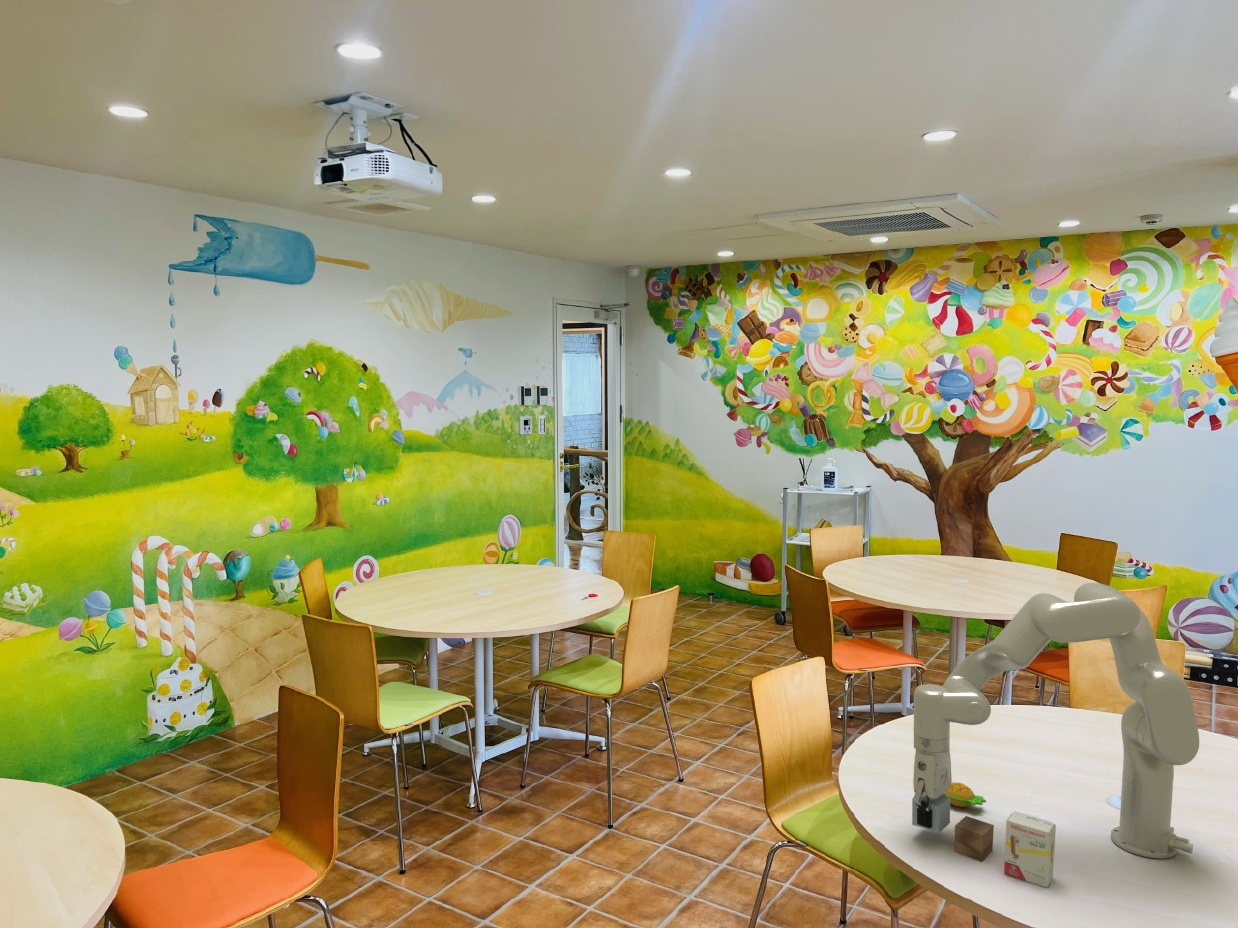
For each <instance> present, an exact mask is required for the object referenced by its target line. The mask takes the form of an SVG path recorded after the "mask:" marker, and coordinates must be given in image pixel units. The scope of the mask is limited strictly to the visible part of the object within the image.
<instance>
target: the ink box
mask: <svg viewBox="0 0 1238 928" xmlns="http://www.w3.org/2000/svg"><path fill="white" fill-rule="evenodd" d="M1005 825H1006V828H1005V844H1004V845H1005V848H1004V870H1003V874H1004V875H1006V876H1009V877H1013V878H1016V879H1018V880H1022V881H1024V882H1029V883H1031V884H1034V885H1037V886H1041V887H1044V888H1048V887H1049V886H1050V884H1051V882H1052V880H1053V878H1054V877H1053V876H1054V875H1053V874H1054V863H1055V861H1054V860H1055V848H1056V847H1055V846H1056V829H1057V826H1056V824H1055V822H1053V821H1050V820H1046V819H1042V818H1039V817H1036V816H1034V815H1033V816H1032V815H1029V814H1027V813H1022V812H1019V811H1012V813H1010V815H1009V816H1008V817H1007V819H1006V823H1005Z"/></svg>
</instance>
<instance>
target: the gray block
mask: <svg viewBox="0 0 1238 928" xmlns="http://www.w3.org/2000/svg"><path fill="white" fill-rule="evenodd" d="M923 794H925V795H927V793H926V792H924V793H923ZM913 798H914V797H912V799H911V801H912V803H911V804H912V806H911V808H912V809H911V810H912V811H911V813H912V814H911V816H912V817H911V821H912V822H911V823H912V826H916V827H918V828H921V829H924V830H928V831H931V832H934V833H936V834H940V833H941V832H942V831H943V830H944V829H945V828H946V827H948V825H950V824H951V803H950V797H948V796H945V795H941V796H940V797H938V798H937V799H935V800H933V799H932V802H931V808H930V810H932V827H931V828H927V827H924V826H921V825H918V824H917V808H916V803H915V801H914V800H913ZM922 799H923V801H925V802H926V804H927V798H924V797H922Z"/></svg>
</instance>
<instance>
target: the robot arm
mask: <svg viewBox="0 0 1238 928" xmlns="http://www.w3.org/2000/svg"><path fill="white" fill-rule="evenodd" d="M1103 639H1109V642H1110V645H1111V648H1112V653H1113V658H1114V662H1115V663H1114V664H1115V668H1116V673H1117V678H1118V679H1117V680H1118V683H1119V686H1120V689H1121V690H1122V691H1123V693H1124V694H1125V695H1127V696H1128V697H1129V698H1131V699H1132V700H1133V701H1134V702H1133V703H1131V704H1129V705H1127V707H1126V708H1125V710H1124V711H1123V713H1122V716H1121V720H1120V722H1121V723H1120V726H1121V727H1120V729H1121V738H1122V746H1123V747H1122V748H1123V749H1122V750H1123V761H1122V763H1123V764H1122V775H1121V776H1122V778H1121V792H1120V793H1121V794H1120V812H1119V825H1118V826H1116V827H1114V828H1112V830H1111V833H1110V837H1111V840H1112V842H1113V843H1114V844H1115V845H1116V846H1118V848H1121V849H1123V850H1125V851H1126V852H1128V853H1132V854H1134V855H1137V856H1140V857H1144V858H1150V859H1159V860H1160V859H1161V860H1162V859H1170V858H1173V857H1175V856H1176V855H1177V854H1178V850H1180V851H1182V852H1185V853H1188V854H1193V849H1194V844H1192V843H1190V840H1189V838H1184V837H1180V836H1177V834H1175V827H1172V826H1171V821H1172V808H1173V807H1172V804H1173V791H1174V790H1173V789H1174V788H1173V787H1174V776H1175V771H1174V770H1175V767H1174V766H1183V765H1187V764H1189V763H1190V762H1192V761H1193V760H1194V759H1195V757H1196V756H1197V754H1198V752H1199V748H1200V732H1199V729H1198V722H1197V717H1196V711H1195V708H1194V703H1193V698H1192V694H1191V691H1190V689H1189V686H1188V683H1186V681H1185V680H1184V679H1183V677H1182V676H1181V675H1179V674H1178V673H1177V672H1175V671H1174V670H1173V669H1170V668H1169V667H1168V666H1166V665H1164V664H1163V662H1162V660H1161V657H1160V656H1161V655H1160V653H1159V648H1158V645H1157V641H1156V637H1155V634H1154V631H1153V627H1152V625H1151V624H1150V621H1149V619H1148V617H1147V616H1146V614H1144V611H1143V610H1142V609H1141V608H1140V607H1139V606H1138V604H1136V602H1135V601H1134V600H1133V599H1132V598H1130V597H1129V596H1128V595H1126V594H1125V593H1123V592H1122V591H1120V590H1118V588H1117V589H1116V588H1115V587H1113V586H1110V585H1107V584H1103V583H1100V582H1099V583H1098V582H1087V583H1083V584H1082V585H1080V586H1079V587H1078V588H1077V589H1076V590H1075V592H1074V596H1073V601H1066V600H1064V599H1062V598H1060V597H1058V596H1056V595H1054V594H1050V593H1047V592H1046V593H1045V592H1042V593H1037V594H1035V595H1033V596H1031V598H1030V599H1028V600H1027V602H1026V603H1024V605H1023V606H1022V607H1021V608H1020V609H1019V610H1018V612H1017V613H1016V614H1014V616H1013V617H1012V618H1011V620H1010V621H1009V622H1008V623H1007V625H1006V626H1005V627H1004V628H1003V629H1002V630H1001V631H1000V632H999V634H998V635H997V636H995V638H994V639H993V640H992V641H991V642H989V643H987V644H985V645H983V646H981V647H980V648H978V649H976V650H975V651H974V652H973V651H972V652H971V653H970V654H968V656H965V658H964V659H962V660H961V662H960V663H958V665H957V666H956V667H955V668H954V669H953V671H951V673H949V675H948V676H947V678H946V679H945V680H944V682H943V685H942V686H941V685H939V684H934V683H933V684H932V683H925V684H920V685H918V686H917V687H915V689H914V691H913V748H914V750H915V753H914V762H913V776H912V778H913V793H914V795H913V797H912V798H913V800H914V801H915V803H916V808H917V824H918V825H921V826H924V827H927V828H931V827H932V810H930V808H931V802H932V799H933V800H935V799H937V798H938V797H940V796H941V795H945V796H946V793H945V792H946V791H947V790H948V789H949V788H950V787H951V784H952V783H953V781H952V780H953V779H952V761H951V760H952V759H951V758H952V757H951V752H950V751H951V749H950V744H951V743H950V739H951V737H950V736H951V734H950V732H951V731H950V727H951V723H953V724H954V723H955V724H960V725H967V726H977V725H981V724H984V723H985V722H986V721H987V720H989V718H990V715H991V712H992V709H991V708H992V707H991V704H990V702H989V700H988V699H987V698H986V696H985V695H984V694H983V693H982V692H981V690H982V688H984V686H985V685H986V684H987V683H988V682H989V681H990V680H991V679H992V678H994V677H996V676H997V675H999V674H1002V673H1005V672H1010V671H1018V670H1019V671H1020V670H1023V669H1025V668H1028V667H1029V666H1030V664H1031V663H1032V662H1033V661H1034V660H1035V659H1036V658H1037V656H1038V655H1039V654H1040V653H1041V652H1042V651H1043V650H1044V649H1045V648H1046V646H1047V645H1048V644H1049V643H1050V642H1051V641H1053V642H1055V643H1062V644H1071V643H1072V644H1073V643H1082V642H1083V643H1085V642H1089V641H1097V640H1103ZM924 792H926V793H927V795H925V794H923V793H924ZM922 797H924V798H927V804H926V802H925V801H923V799H922Z"/></svg>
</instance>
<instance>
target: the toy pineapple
mask: <svg viewBox="0 0 1238 928" xmlns="http://www.w3.org/2000/svg"><path fill="white" fill-rule="evenodd" d="M945 793H946V796H948V797H950V805H952V806H955V807H958V808H966V807H969V806H971V805H972V806H976V805H978V806H983V804H984V803H986V802H987V800H986V799H984V796H981V795H975V793H974V791H973V790H972V789H971V788H970V787H969V786H967V785H966V784H964V783H962V782H956V781H954V782H953V781H952V784H951V787H950V788H949V789H948V790H947V791H946V792H945Z"/></svg>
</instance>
